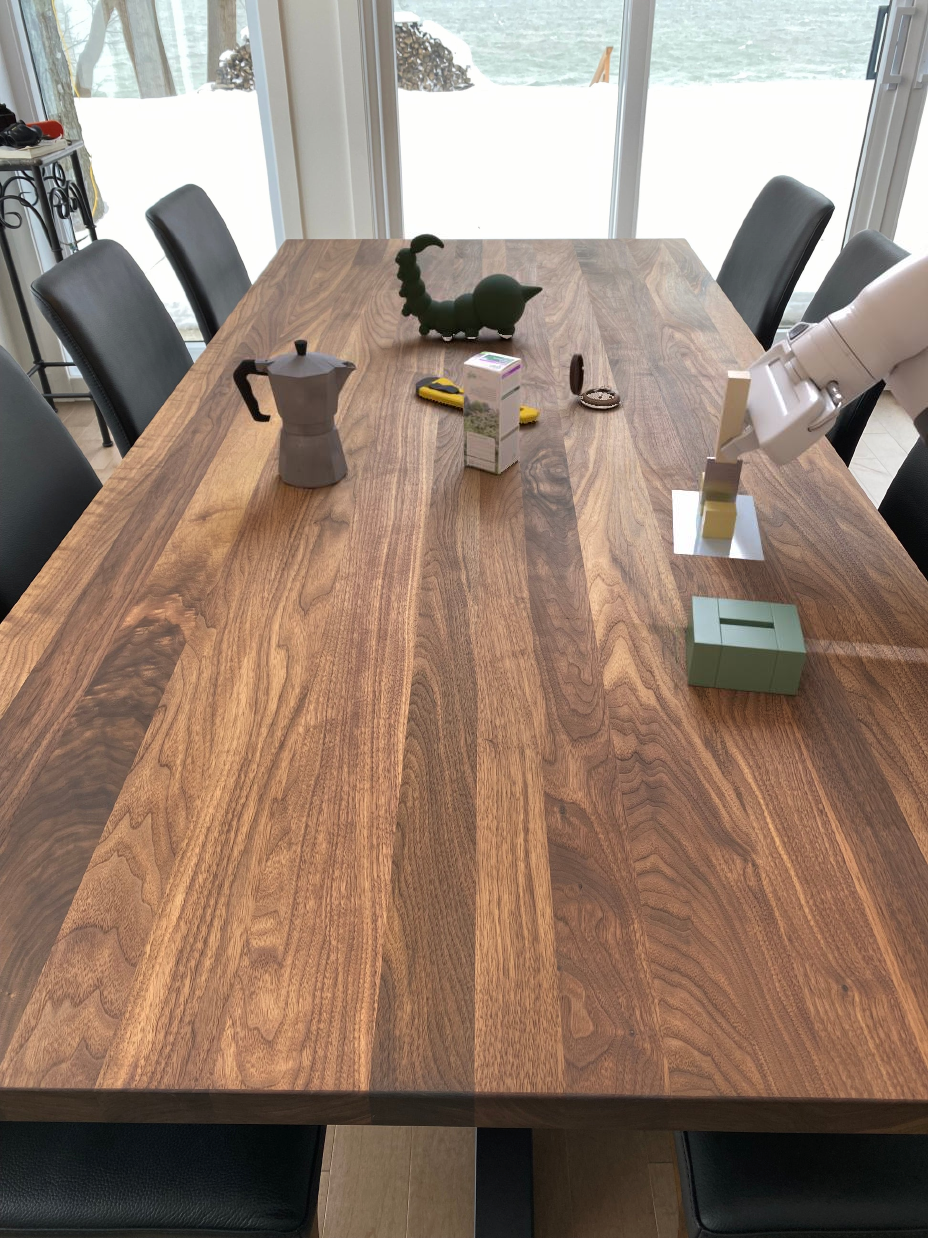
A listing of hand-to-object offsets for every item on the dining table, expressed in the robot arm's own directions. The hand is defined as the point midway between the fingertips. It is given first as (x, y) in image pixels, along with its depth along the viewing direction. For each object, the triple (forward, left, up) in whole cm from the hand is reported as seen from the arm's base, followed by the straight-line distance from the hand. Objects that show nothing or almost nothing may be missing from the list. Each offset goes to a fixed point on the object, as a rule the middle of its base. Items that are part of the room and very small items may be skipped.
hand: (722, 447), depth 111 cm
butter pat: (-1, +3, -10) cm, 10 cm away
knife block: (-2, +27, -11) cm, 29 cm away
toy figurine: (+39, -65, -11) cm, 77 cm away
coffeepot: (+52, -7, -11) cm, 54 cm away
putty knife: (-1, 0, -7) cm, 7 cm away
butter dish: (-1, 0, -11) cm, 11 cm away
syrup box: (+28, -14, -11) cm, 33 cm away
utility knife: (+33, -34, -11) cm, 49 cm away
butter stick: (-1, -4, -10) cm, 10 cm away
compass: (+15, -39, -11) cm, 43 cm away
